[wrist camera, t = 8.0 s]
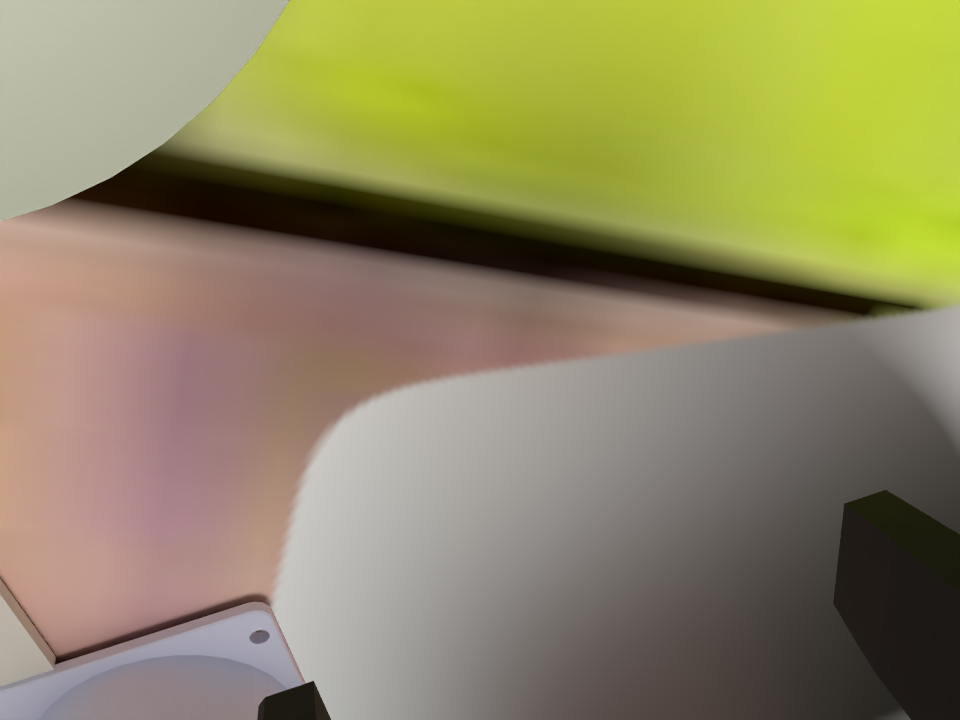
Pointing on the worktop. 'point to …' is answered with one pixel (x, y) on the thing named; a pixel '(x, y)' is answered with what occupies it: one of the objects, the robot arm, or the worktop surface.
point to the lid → (109, 84)
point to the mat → (20, 643)
